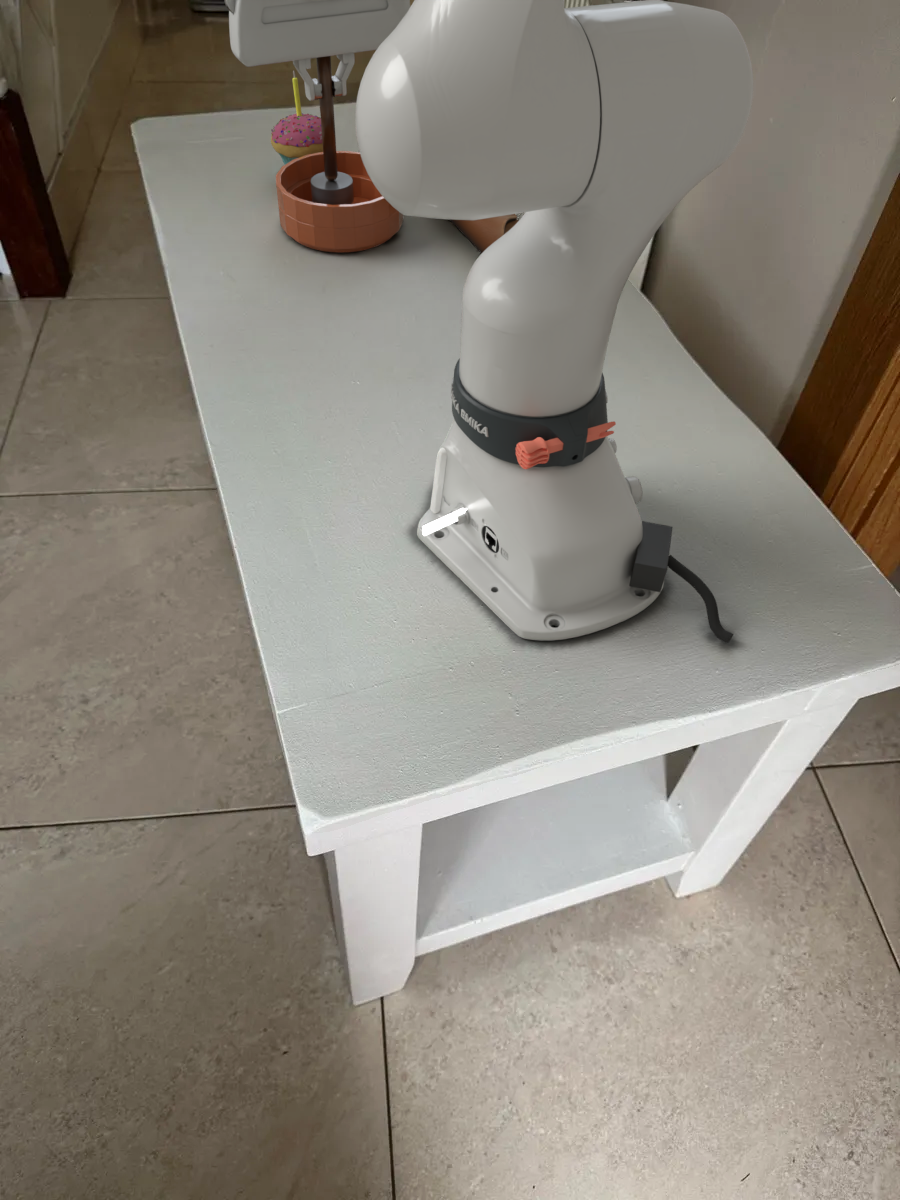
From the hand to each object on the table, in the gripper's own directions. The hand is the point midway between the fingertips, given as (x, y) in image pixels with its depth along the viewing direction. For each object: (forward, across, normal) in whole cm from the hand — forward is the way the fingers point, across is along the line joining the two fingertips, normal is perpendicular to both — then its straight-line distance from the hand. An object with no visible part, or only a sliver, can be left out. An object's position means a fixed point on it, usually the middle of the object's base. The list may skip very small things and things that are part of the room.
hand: (326, 96), depth 107 cm
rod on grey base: (+12, 0, 0) cm, 12 cm away
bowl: (+14, 0, -2) cm, 15 cm away
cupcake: (+15, +1, +14) cm, 20 cm away
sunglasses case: (+15, +16, -12) cm, 25 cm away
